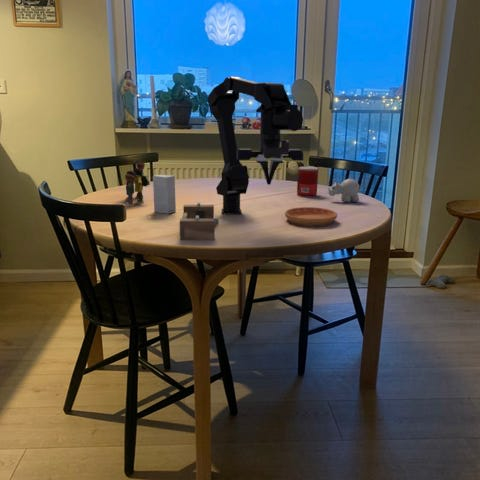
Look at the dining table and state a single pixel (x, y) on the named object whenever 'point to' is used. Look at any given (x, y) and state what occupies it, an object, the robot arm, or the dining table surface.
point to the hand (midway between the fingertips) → (268, 184)
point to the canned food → (307, 181)
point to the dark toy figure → (139, 183)
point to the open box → (197, 222)
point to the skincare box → (164, 194)
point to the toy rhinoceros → (346, 190)
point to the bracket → (215, 220)
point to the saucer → (311, 216)
